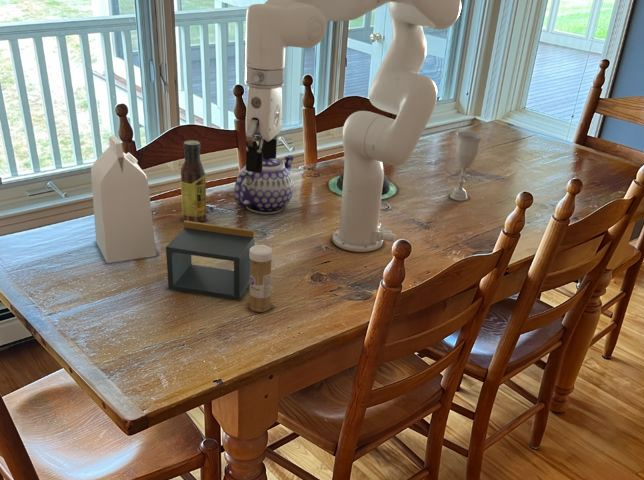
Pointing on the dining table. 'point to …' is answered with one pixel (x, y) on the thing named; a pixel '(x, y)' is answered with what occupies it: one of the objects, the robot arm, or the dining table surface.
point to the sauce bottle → (193, 184)
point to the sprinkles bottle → (260, 277)
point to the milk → (121, 206)
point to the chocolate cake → (387, 188)
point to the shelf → (212, 245)
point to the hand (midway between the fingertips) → (261, 164)
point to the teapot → (265, 186)
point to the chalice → (465, 158)
